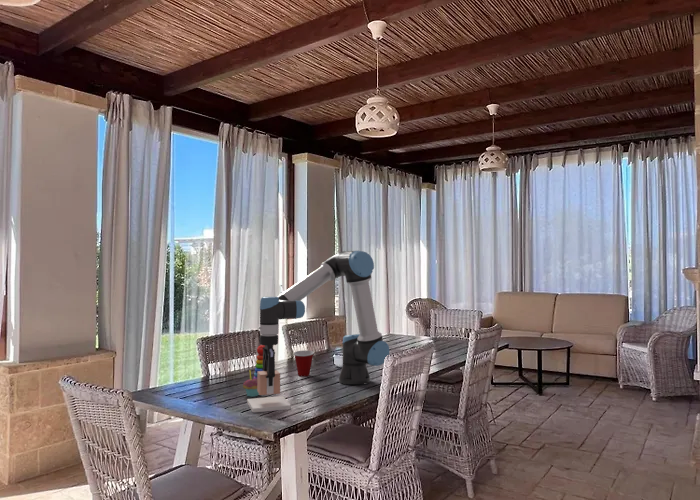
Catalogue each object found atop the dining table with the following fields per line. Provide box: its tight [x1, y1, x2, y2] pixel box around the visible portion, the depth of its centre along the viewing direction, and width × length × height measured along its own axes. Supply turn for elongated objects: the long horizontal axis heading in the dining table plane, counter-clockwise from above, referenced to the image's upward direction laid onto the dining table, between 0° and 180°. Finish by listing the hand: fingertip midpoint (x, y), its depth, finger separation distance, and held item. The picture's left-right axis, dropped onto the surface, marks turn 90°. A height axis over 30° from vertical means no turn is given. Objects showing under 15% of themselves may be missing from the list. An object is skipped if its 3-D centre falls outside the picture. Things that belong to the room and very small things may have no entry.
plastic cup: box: [292, 349, 315, 377], centre depth 269 cm, size 11×11×12 cm
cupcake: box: [242, 368, 260, 398], centre depth 229 cm, size 9×8×12 cm
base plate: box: [246, 395, 292, 413], centre depth 212 cm, size 15×15×2 cm
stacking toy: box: [252, 344, 265, 379], centre depth 249 cm, size 8×8×19 cm
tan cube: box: [257, 369, 281, 396], centre depth 212 cm, size 8×7×8 cm
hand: (268, 391), depth 212 cm, fingers closed on tan cube, 7 cm apart
